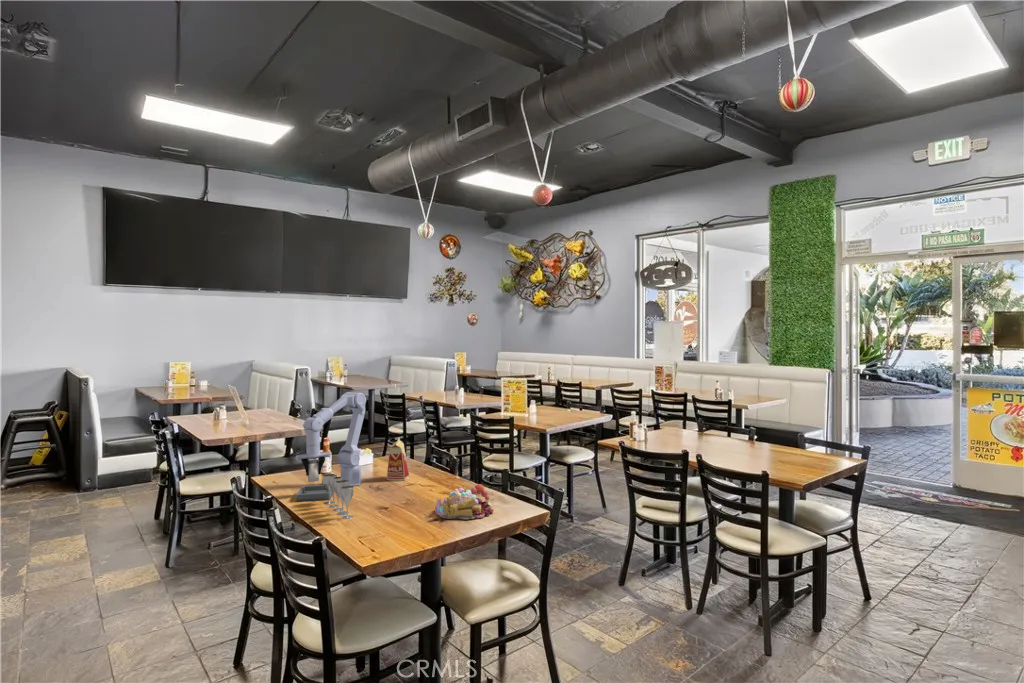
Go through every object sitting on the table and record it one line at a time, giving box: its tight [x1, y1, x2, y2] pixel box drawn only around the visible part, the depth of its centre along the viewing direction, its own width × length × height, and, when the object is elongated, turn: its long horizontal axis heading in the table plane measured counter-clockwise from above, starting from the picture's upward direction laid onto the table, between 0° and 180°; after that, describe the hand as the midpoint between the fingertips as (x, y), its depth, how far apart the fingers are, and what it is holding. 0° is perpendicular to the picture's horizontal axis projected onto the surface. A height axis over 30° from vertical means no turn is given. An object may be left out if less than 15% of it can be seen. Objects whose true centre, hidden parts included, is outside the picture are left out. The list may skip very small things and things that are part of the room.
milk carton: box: [386, 437, 410, 482], centre depth 271 cm, size 9×9×20 cm
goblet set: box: [321, 473, 354, 520], centre depth 224 cm, size 28×6×13 cm, turn 36°
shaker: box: [307, 459, 320, 483], centre depth 245 cm, size 5×5×9 cm
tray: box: [295, 484, 333, 503], centre depth 242 cm, size 14×14×3 cm
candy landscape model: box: [434, 483, 495, 520], centre depth 221 cm, size 25×24×9 cm
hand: (313, 474), depth 245 cm, fingers closed on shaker, 5 cm apart
